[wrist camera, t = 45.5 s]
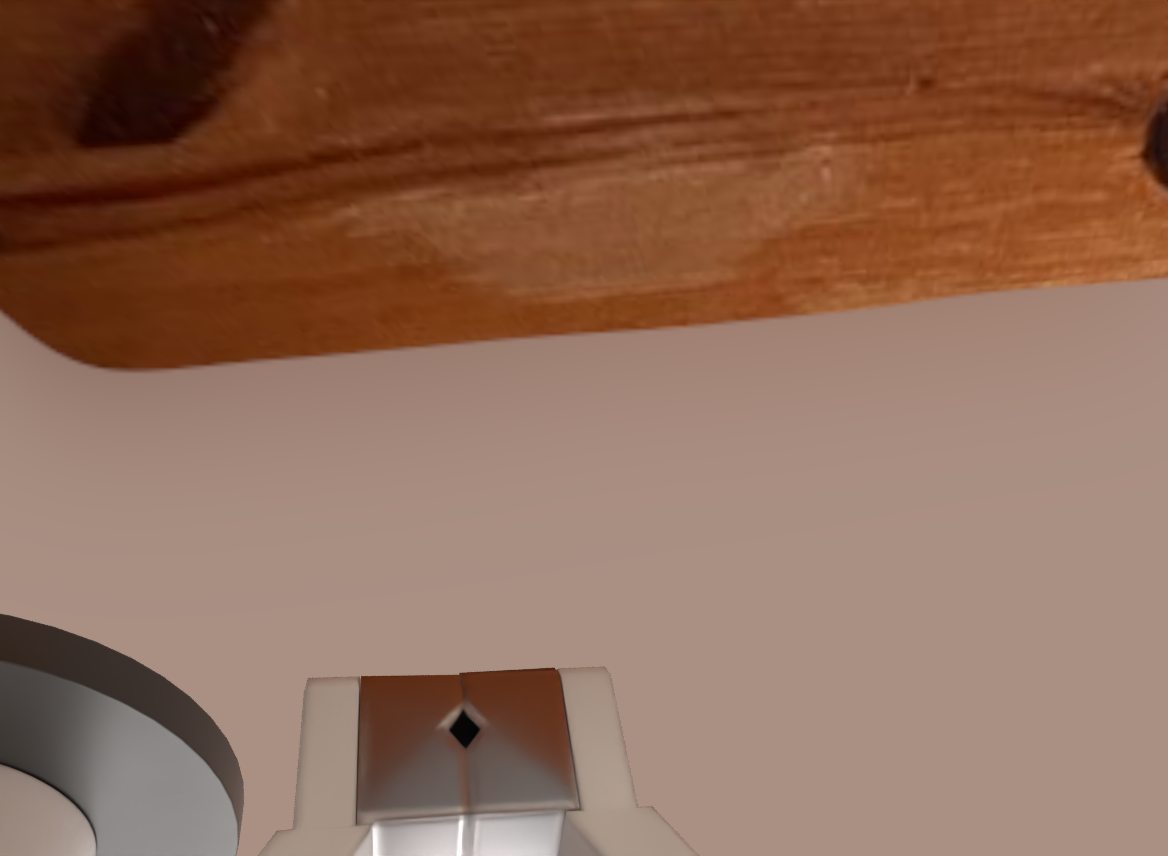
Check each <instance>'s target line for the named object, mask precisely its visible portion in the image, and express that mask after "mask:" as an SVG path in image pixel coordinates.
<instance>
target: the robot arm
mask: <svg viewBox="0 0 1168 856" xmlns="http://www.w3.org/2000/svg"><path fill="white" fill-rule="evenodd" d="M0 856H96V840H95V835H94V833H93V830H92V828H91V826H90V824H89V822H88V820H87V819H86V817H85V816H84V815H83V813H82V812H81V811H80V810H79V809H78V808H77V807H76V806H75V805H74V804H73V803H72V802H71V801H70V800H69V799H68V798H66V797H65V796H64V795H62V794H61V793H60V792H58V791H57V790H55V789H54V788H52V787H51V786H49V785H47V784H45V783H44V782H42V781H40V780H38V779H36V778H34V777H32V776H30V775H27V774H25V773H23V772H21V771H18V770H15V769H13V768H10V767H7V766H4V765H1V764H0ZM258 856H699V855H698V854H697V853H696V852H695V851H694V850H693V849H692V848H691V847H690V846H689V844H688V843H687V842H686V841H685V840H684V839H683V838H682V837H681V836H680V835H679V834H678V833H677V832H676V831H675V830H674V829H673V828H672V827H671V826H670V825H669V823H668V822H667V821H666V820H665V819H664V818H663V817H662V816H661V815H660V814H659V813H658V812H657V811H656V810H655V809H654V808H653V807H638V804H637V800H636V795H635V790H634V785H633V781H632V775H631V771H630V766H629V762H628V756H627V751H626V746H625V742H624V737H623V732H622V727H621V722H620V718H619V712H618V708H617V703H616V698H615V693H614V689H613V684H612V679H611V675H610V673H609V672H608V670H607V669H606V668H605V667H586V668H562V669H557V670H556V669H555V668H540V669H523V670H503V671H487V672H467V673H460V674H459V675H418V676H417V675H416V676H361V682H360V677H330V678H328V677H327V678H308V680H307V684H306V687H305V691H304V698H303V710H302V723H301V735H300V747H299V759H298V772H297V784H296V796H295V809H294V821H293V829H291V830H281V831H276V833H275V834H274V835H273V837H272V838H271V839H270V841H269V842H268V843H267V844H266V846H265V847H264V848H263V850H262V851H261V852H260V854H259V855H258Z"/></svg>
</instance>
